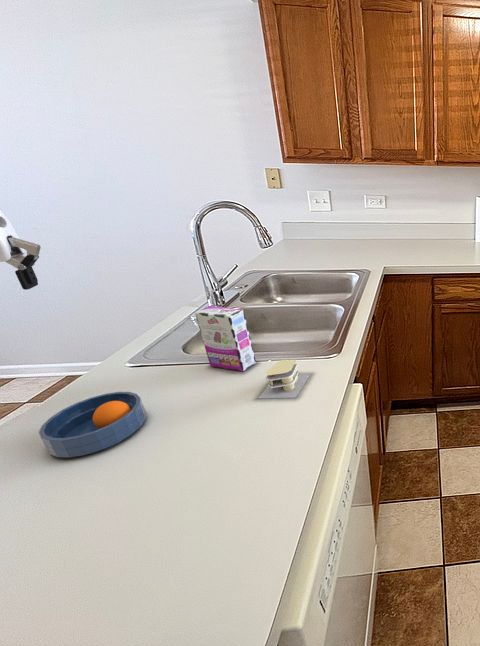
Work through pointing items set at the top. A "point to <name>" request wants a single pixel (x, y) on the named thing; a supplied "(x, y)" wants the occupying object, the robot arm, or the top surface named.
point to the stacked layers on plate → (284, 380)
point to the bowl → (90, 426)
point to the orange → (110, 413)
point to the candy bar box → (226, 338)
